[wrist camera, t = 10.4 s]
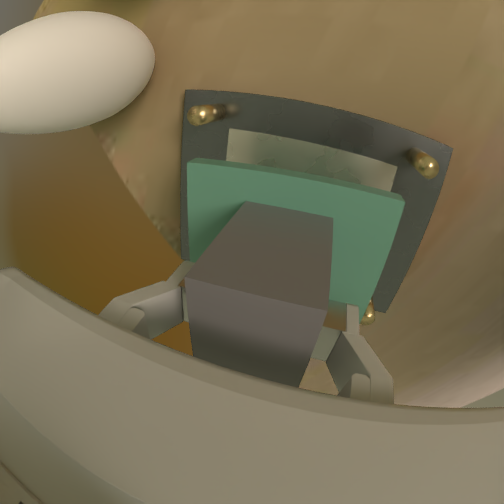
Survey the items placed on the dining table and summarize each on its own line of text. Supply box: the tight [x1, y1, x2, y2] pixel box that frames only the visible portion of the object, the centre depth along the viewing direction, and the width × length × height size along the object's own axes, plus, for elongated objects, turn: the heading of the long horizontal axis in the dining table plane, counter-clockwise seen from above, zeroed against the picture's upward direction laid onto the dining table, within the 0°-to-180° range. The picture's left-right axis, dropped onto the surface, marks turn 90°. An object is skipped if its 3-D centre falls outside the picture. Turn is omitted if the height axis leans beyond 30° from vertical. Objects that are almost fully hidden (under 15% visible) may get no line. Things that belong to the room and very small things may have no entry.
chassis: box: [181, 90, 453, 325], centre depth 17 cm, size 18×14×4 cm
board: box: [184, 158, 405, 388], centre depth 11 cm, size 10×8×7 cm
